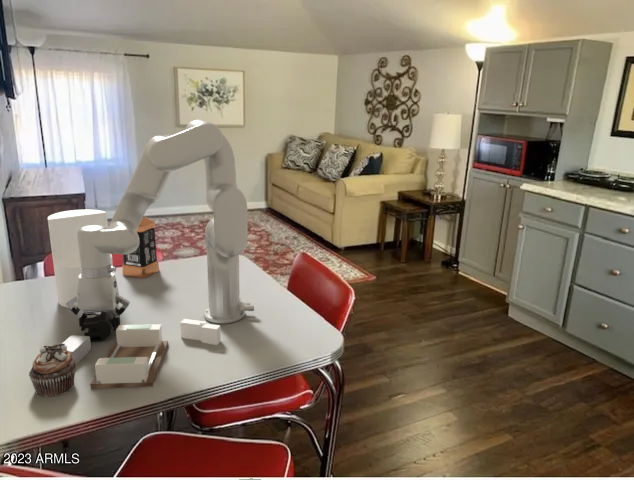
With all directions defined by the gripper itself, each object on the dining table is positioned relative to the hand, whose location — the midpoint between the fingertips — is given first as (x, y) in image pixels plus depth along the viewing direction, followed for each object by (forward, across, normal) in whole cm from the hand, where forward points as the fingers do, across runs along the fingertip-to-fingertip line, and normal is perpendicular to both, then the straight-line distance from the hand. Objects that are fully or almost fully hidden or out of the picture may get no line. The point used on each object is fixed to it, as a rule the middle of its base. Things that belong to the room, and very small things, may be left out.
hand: (100, 328), depth 138 cm
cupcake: (+2, +2, +26) cm, 26 cm away
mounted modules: (0, -13, +17) cm, 21 cm away
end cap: (+2, 0, 0) cm, 2 cm away
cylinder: (+2, +12, -26) cm, 29 cm away
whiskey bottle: (+2, 0, -49) cm, 49 cm away
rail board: (+2, -13, +17) cm, 21 cm away
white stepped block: (+2, -28, +5) cm, 29 cm away
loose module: (+2, +3, +12) cm, 12 cm away
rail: (0, -13, +17) cm, 21 cm away
